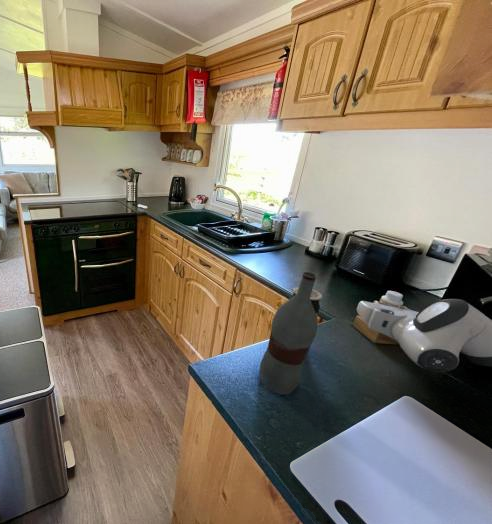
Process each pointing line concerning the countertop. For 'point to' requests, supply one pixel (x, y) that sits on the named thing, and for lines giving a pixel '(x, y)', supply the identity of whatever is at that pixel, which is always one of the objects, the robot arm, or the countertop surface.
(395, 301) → the supplement bottle
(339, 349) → the countertop surface
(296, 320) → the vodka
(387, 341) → the oak block
